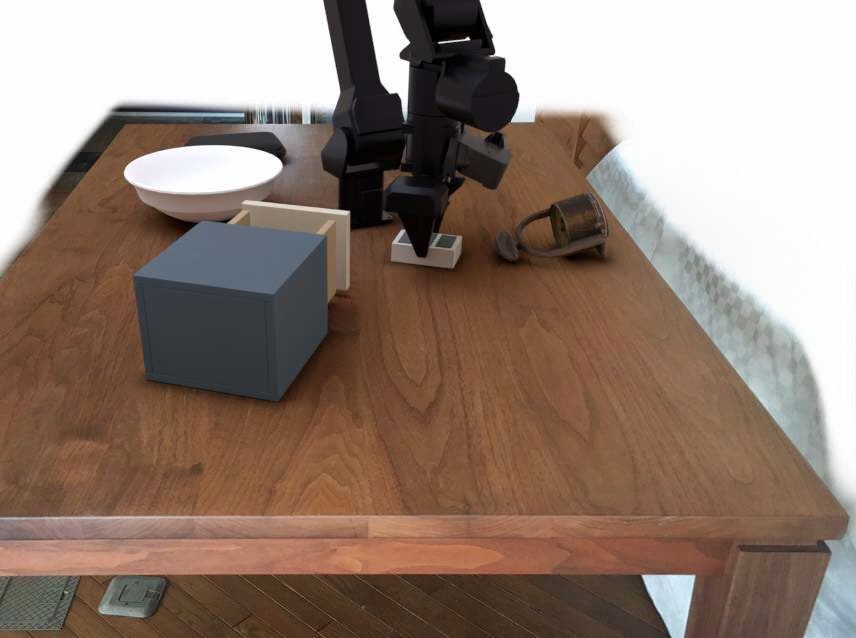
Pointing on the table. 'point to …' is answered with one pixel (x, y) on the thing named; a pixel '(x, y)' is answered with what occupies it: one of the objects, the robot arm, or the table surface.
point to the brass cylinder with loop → (563, 229)
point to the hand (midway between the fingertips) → (426, 249)
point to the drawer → (308, 222)
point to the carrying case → (243, 142)
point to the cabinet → (233, 308)
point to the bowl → (203, 180)
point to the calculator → (439, 254)
